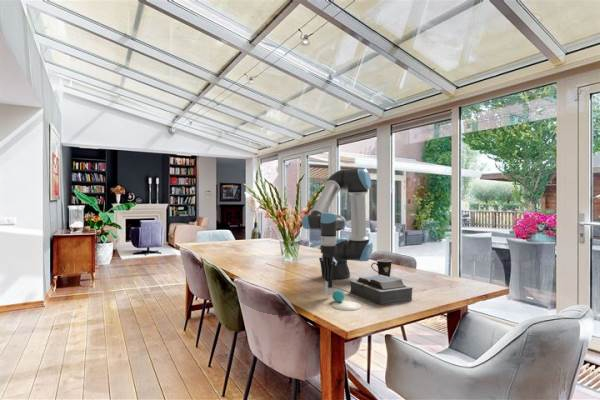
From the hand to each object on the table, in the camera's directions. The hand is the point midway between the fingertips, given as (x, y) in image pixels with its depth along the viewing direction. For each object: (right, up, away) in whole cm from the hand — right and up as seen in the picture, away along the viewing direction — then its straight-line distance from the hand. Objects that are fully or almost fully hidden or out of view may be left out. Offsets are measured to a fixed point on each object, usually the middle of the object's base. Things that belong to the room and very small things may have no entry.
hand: (328, 294), depth 167 cm
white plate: (+7, -2, -12) cm, 14 cm away
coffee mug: (+36, -2, +44) cm, 57 cm away
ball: (+4, +1, -6) cm, 7 cm away
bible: (+25, -3, +3) cm, 26 cm away
